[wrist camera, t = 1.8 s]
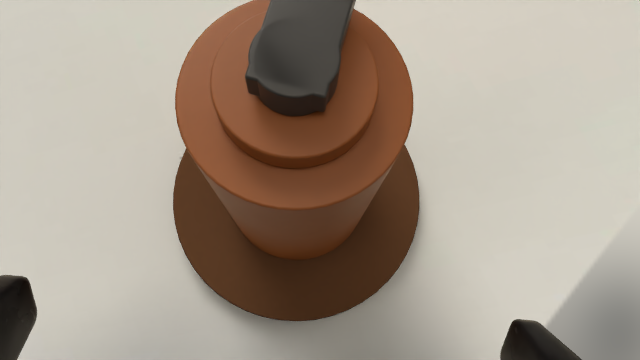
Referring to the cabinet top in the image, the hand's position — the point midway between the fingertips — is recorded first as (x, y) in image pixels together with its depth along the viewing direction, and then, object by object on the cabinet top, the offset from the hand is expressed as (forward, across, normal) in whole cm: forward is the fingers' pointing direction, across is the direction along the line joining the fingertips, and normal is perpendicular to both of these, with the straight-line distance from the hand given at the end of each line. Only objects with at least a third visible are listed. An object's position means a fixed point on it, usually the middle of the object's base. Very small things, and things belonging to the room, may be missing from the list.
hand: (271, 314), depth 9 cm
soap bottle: (+12, 0, +4) cm, 12 cm away
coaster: (+12, 0, +4) cm, 13 cm away
